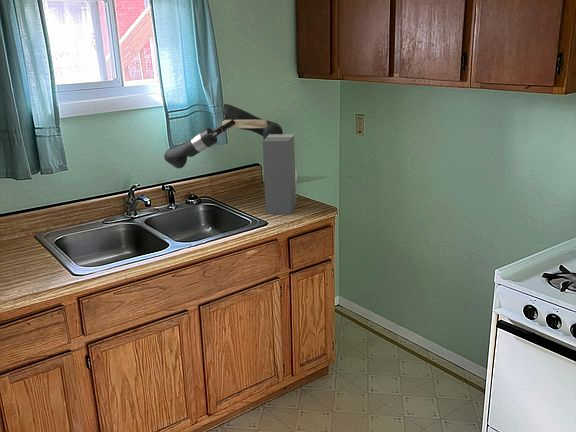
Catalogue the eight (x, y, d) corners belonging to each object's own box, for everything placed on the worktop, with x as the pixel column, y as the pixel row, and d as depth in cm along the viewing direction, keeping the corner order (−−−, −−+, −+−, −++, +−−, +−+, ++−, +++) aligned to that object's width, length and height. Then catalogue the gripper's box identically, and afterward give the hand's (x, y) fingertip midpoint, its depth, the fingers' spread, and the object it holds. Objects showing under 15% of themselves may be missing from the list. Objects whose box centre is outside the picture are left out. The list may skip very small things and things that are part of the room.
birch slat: (225, 126, 260) (224, 119, 260) (267, 126, 257) (267, 119, 256) (222, 128, 257) (222, 121, 256) (265, 128, 253) (265, 121, 252)
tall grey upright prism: (272, 204, 269) (269, 134, 259) (296, 205, 267) (293, 134, 257) (265, 214, 256) (262, 140, 246) (290, 214, 254) (288, 140, 244)
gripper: (194, 135, 255) (226, 115, 249) (204, 130, 268) (235, 110, 263) (204, 150, 256) (236, 130, 251) (213, 144, 269) (244, 125, 264)
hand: (235, 120), depth 257 cm, fingers closed on birch slat, 4 cm apart
